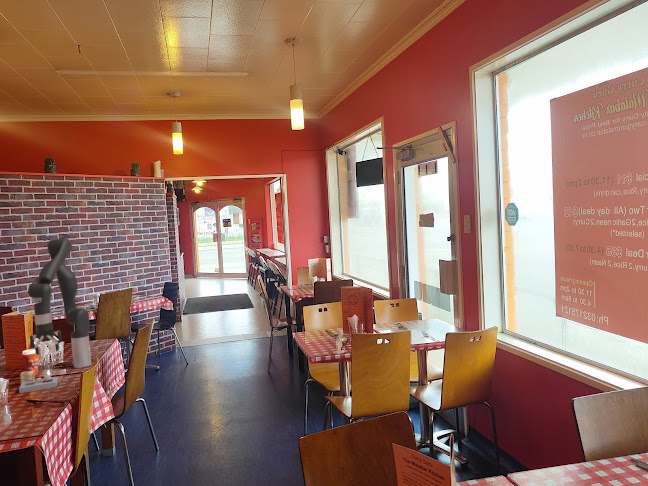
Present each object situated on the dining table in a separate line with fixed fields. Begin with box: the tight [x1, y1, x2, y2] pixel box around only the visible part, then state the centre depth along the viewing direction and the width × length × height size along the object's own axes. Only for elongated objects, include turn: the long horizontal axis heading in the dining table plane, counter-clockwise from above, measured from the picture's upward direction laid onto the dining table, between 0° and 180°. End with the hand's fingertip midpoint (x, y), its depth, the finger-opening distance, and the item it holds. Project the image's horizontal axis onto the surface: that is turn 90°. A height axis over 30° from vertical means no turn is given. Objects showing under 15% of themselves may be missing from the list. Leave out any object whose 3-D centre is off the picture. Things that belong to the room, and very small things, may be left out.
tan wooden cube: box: [20, 370, 36, 385], centre depth 255 cm, size 6×6×6 cm
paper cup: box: [21, 348, 39, 377], centre depth 271 cm, size 8×8×14 cm
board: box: [18, 376, 59, 394], centre depth 249 cm, size 16×10×2 cm, turn 115°
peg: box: [43, 368, 52, 382], centre depth 250 cm, size 3×3×8 cm
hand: (47, 352), depth 254 cm, fingers open, 8 cm apart
